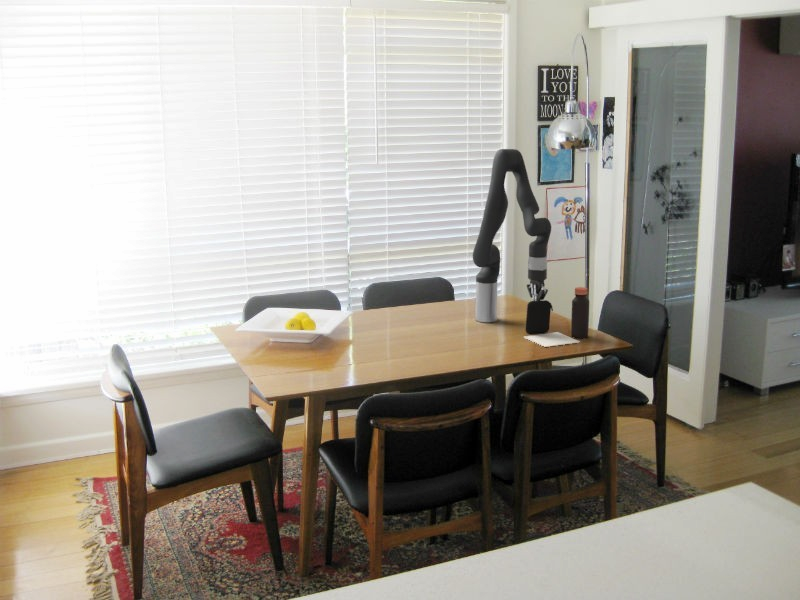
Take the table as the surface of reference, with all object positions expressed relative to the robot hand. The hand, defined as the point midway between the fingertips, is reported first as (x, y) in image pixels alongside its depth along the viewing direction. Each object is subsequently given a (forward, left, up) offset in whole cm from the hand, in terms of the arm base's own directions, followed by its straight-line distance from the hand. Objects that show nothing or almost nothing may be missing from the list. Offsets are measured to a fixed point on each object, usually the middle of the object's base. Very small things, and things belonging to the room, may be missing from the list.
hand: (536, 309), depth 344 cm
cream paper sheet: (+12, 0, -10) cm, 16 cm away
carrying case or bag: (+2, 0, -10) cm, 10 cm away
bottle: (+12, +13, -10) cm, 20 cm away
